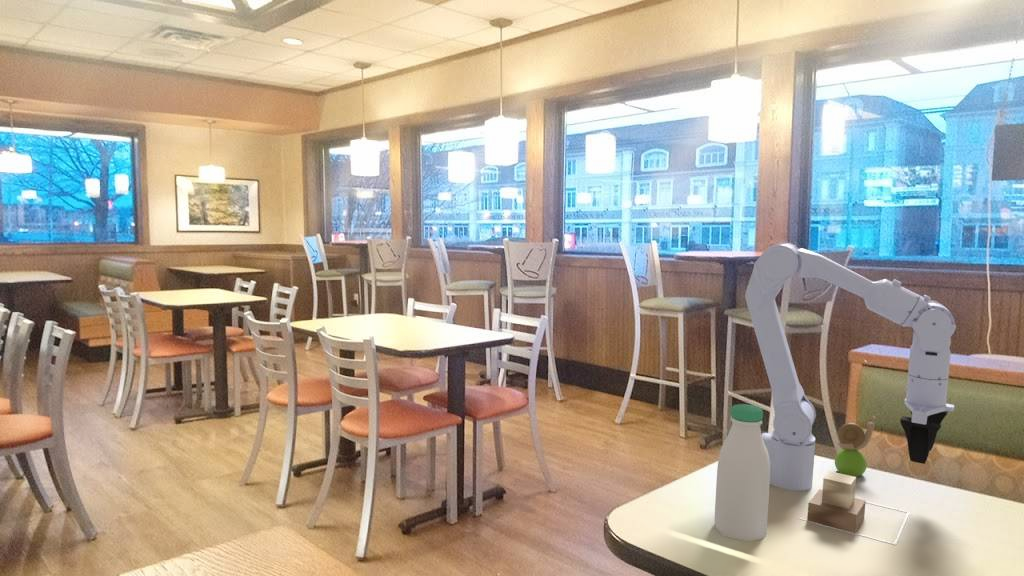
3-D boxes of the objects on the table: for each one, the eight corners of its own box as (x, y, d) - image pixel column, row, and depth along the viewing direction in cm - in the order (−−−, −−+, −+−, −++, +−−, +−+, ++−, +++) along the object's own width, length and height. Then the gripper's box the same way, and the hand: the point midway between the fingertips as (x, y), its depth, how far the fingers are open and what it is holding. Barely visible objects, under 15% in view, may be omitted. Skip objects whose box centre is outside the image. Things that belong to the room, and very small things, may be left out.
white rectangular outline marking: (793, 522, 111) (793, 518, 111) (816, 492, 123) (816, 488, 123) (898, 551, 102) (898, 546, 102) (912, 516, 114) (913, 512, 114)
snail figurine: (875, 484, 127) (880, 421, 126) (837, 480, 128) (842, 418, 127) (866, 473, 133) (871, 412, 131) (830, 470, 134) (834, 409, 132)
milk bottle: (776, 543, 104) (784, 414, 102) (728, 546, 103) (735, 415, 101) (750, 520, 112) (757, 399, 109) (705, 523, 110) (711, 401, 108)
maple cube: (821, 502, 110) (823, 478, 110) (827, 494, 113) (829, 471, 113) (849, 509, 108) (851, 484, 107) (854, 501, 111) (856, 477, 111)
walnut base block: (807, 520, 110) (808, 502, 110) (818, 506, 116) (819, 489, 116) (855, 533, 106) (856, 514, 106) (864, 518, 112) (865, 500, 111)
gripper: (951, 388, 106) (944, 474, 107) (960, 371, 117) (953, 449, 119) (899, 381, 110) (893, 463, 112) (913, 365, 122) (907, 440, 123)
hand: (921, 455), depth 116 cm, fingers open, 7 cm apart
